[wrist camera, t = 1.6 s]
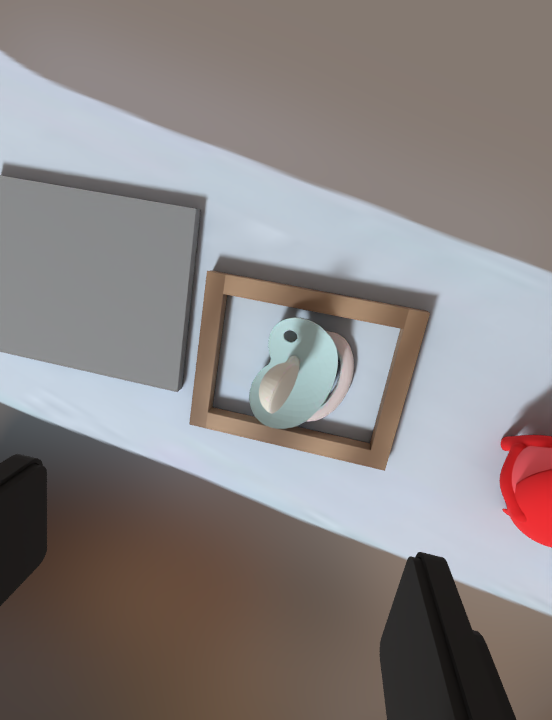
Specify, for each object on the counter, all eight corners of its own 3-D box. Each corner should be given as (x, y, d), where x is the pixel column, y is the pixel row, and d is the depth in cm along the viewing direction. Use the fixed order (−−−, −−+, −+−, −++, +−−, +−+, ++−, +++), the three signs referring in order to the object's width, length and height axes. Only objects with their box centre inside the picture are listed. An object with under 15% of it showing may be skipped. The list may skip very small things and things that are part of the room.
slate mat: (200, 210, 24) (196, 208, 23) (181, 388, 27) (177, 391, 26) (0, 175, 25) (-11, 173, 24) (6, 348, 29) (-4, 350, 28)
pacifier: (370, 337, 24) (282, 303, 24) (383, 364, 18) (268, 320, 18) (326, 433, 26) (246, 401, 27) (326, 485, 21) (223, 444, 21)
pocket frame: (426, 310, 23) (430, 312, 22) (383, 462, 26) (384, 470, 25) (212, 270, 25) (207, 271, 24) (194, 418, 28) (189, 424, 27)
